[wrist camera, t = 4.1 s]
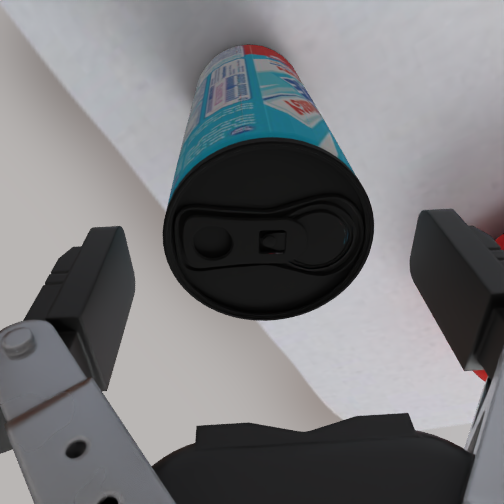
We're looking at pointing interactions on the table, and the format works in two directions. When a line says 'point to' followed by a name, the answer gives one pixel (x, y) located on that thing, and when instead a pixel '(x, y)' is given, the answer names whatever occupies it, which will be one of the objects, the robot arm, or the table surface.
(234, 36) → the table surface
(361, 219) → the beverage can
